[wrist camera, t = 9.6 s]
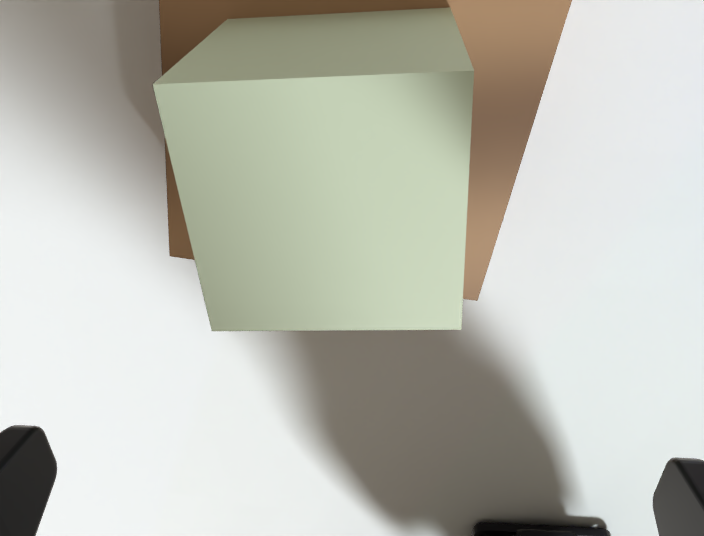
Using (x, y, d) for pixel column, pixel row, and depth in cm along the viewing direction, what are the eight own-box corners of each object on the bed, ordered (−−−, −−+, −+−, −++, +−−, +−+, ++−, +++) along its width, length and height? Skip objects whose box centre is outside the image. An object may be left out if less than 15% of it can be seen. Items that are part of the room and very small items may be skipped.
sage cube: (444, 209, 16) (461, 329, 12) (259, 214, 16) (211, 331, 12) (450, 7, 13) (474, 70, 9) (227, 19, 14) (152, 83, 10)
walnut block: (464, 231, 21) (477, 300, 18) (205, 193, 21) (169, 256, 17) (544, -60, 16) (584, -40, 13) (205, -115, 16) (154, -109, 12)
